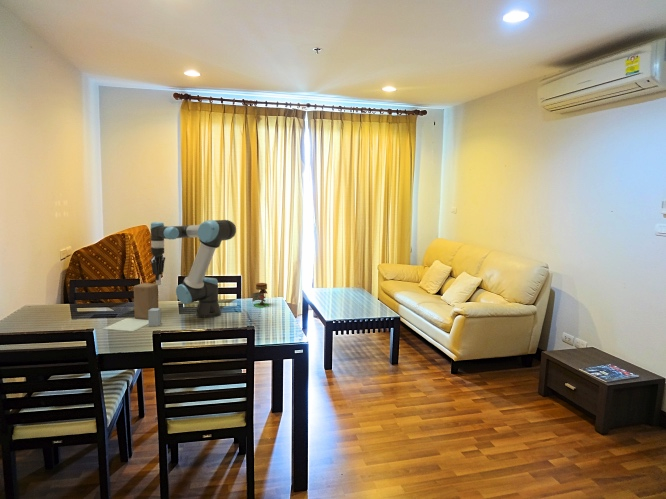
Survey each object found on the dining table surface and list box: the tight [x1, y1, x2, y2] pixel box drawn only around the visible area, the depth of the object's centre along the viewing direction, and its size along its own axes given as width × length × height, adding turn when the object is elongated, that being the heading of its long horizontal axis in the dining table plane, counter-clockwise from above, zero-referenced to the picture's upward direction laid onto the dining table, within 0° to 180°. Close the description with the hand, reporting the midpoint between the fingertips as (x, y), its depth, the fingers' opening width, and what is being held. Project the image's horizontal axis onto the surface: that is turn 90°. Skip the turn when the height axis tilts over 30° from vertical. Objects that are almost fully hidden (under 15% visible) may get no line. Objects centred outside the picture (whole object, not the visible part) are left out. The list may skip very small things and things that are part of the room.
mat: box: [102, 317, 149, 333], centre depth 234 cm, size 18×20×1 cm
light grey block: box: [148, 307, 162, 327], centre depth 236 cm, size 5×5×9 cm
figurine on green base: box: [251, 282, 270, 308], centre depth 284 cm, size 12×13×15 cm
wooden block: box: [133, 282, 159, 320], centre depth 249 cm, size 10×10×20 cm
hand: (158, 284), depth 261 cm, fingers closed
